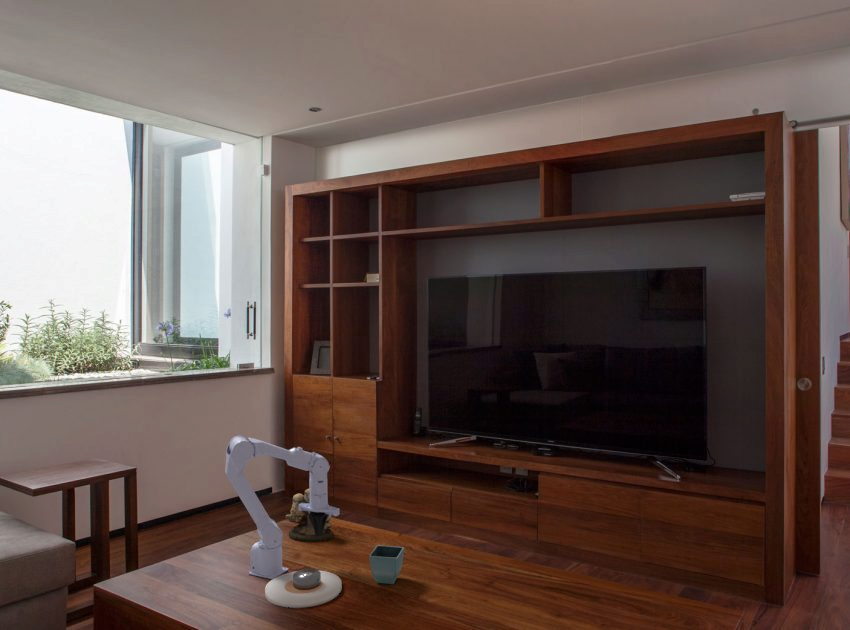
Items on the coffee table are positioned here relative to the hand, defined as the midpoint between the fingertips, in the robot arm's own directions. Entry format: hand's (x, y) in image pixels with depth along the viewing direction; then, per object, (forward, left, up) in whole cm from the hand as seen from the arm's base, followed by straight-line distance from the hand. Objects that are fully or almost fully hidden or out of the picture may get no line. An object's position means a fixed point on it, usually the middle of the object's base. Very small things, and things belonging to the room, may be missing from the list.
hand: (319, 535), depth 213 cm
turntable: (+7, -18, -9) cm, 21 cm away
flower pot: (+26, -2, -10) cm, 28 cm away
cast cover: (+8, -17, -8) cm, 20 cm away
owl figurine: (-18, +20, -10) cm, 29 cm away
